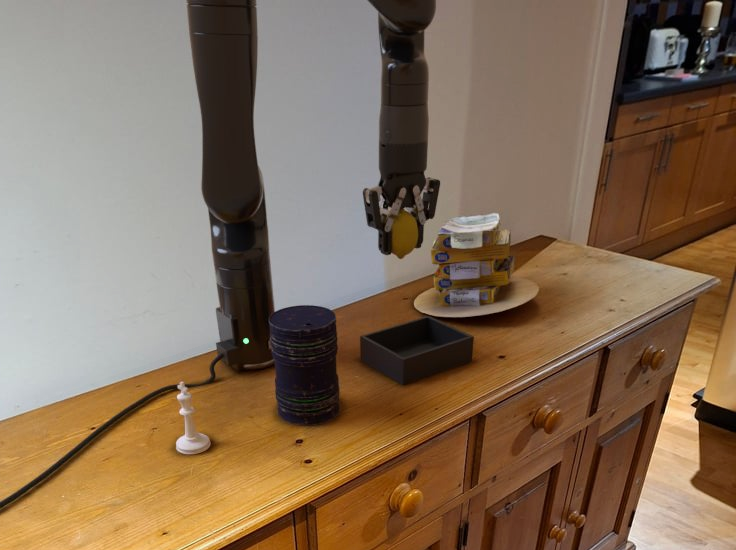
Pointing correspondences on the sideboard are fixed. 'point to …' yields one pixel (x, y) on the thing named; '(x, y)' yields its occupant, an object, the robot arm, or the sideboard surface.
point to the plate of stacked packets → (473, 270)
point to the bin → (416, 349)
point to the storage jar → (305, 364)
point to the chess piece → (190, 427)
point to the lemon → (404, 234)
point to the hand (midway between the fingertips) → (400, 250)
